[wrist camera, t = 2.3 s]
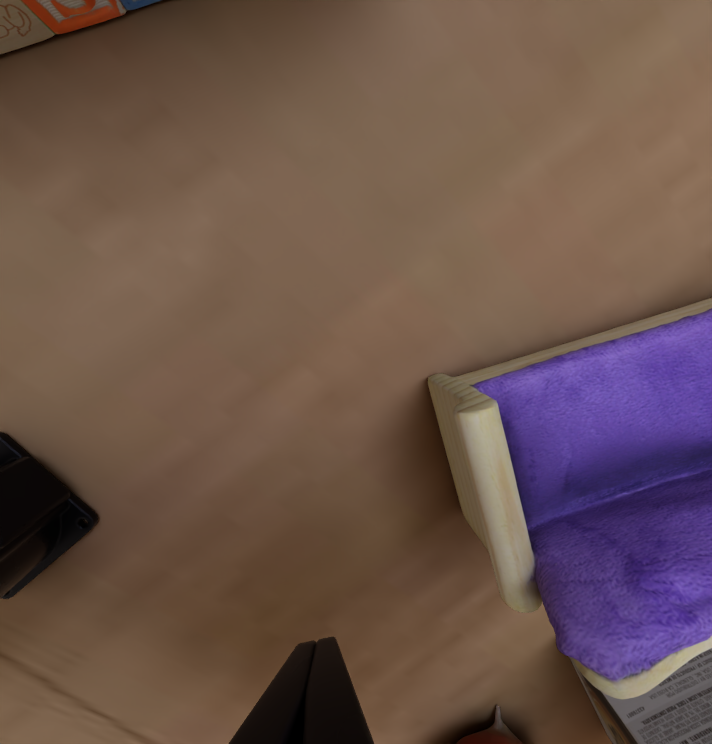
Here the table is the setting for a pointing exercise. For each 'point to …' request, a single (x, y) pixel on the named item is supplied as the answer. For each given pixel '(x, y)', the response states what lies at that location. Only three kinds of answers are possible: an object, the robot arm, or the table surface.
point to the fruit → (492, 734)
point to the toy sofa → (597, 490)
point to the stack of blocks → (54, 18)
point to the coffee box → (661, 708)
